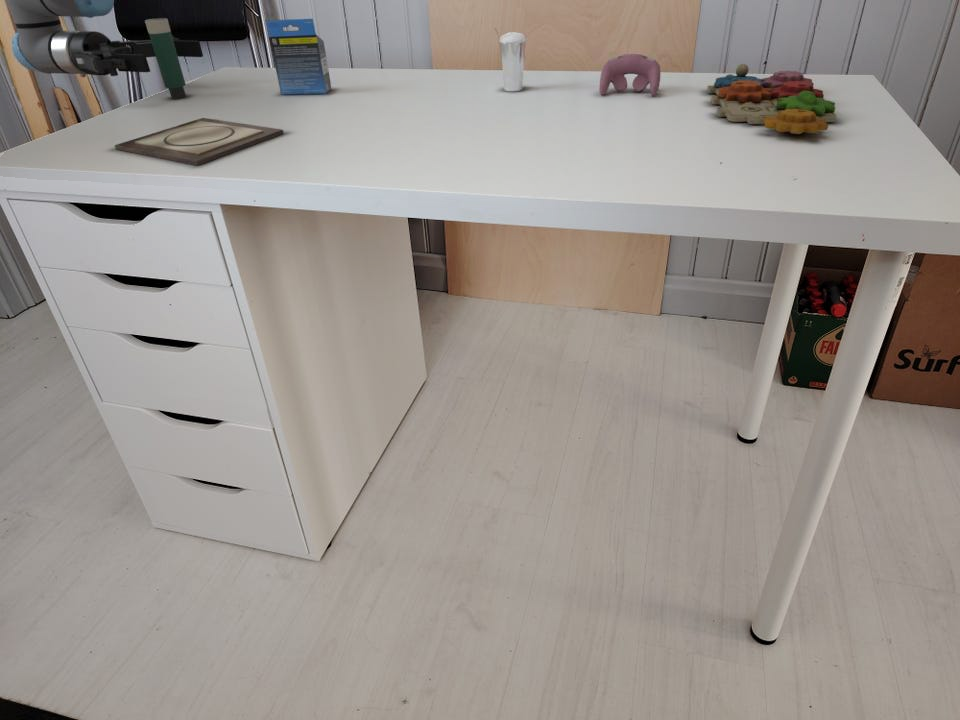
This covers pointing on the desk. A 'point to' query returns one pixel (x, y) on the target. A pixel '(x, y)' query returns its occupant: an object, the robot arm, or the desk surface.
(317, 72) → the tape cartridge
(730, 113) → the gear puzzle
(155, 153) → the picture frame
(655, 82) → the video game controller
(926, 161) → the desk surface
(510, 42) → the milkshake
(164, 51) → the marker
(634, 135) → the desk surface
